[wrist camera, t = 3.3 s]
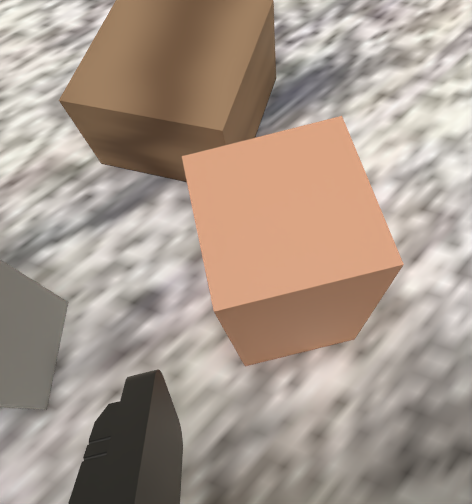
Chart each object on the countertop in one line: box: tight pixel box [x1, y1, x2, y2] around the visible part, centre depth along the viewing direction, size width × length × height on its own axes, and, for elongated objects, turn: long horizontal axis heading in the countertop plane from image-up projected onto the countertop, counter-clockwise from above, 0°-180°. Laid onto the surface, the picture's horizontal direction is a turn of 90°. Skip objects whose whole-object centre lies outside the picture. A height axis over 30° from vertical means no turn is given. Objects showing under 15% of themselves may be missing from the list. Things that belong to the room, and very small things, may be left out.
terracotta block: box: [182, 116, 404, 366], centre depth 16 cm, size 5×5×9 cm
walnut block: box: [59, 0, 276, 182], centre depth 23 cm, size 8×8×5 cm
